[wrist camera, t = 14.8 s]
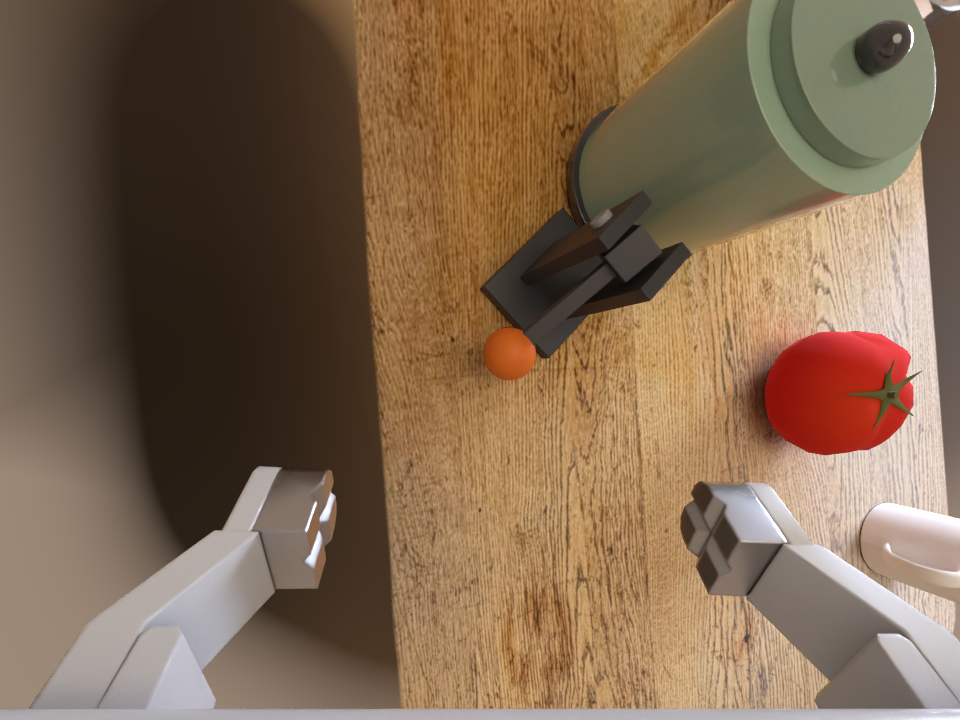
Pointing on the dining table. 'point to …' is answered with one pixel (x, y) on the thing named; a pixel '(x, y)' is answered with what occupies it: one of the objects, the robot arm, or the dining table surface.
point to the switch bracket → (575, 270)
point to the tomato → (839, 391)
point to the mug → (914, 548)
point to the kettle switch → (568, 304)
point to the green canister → (763, 120)
